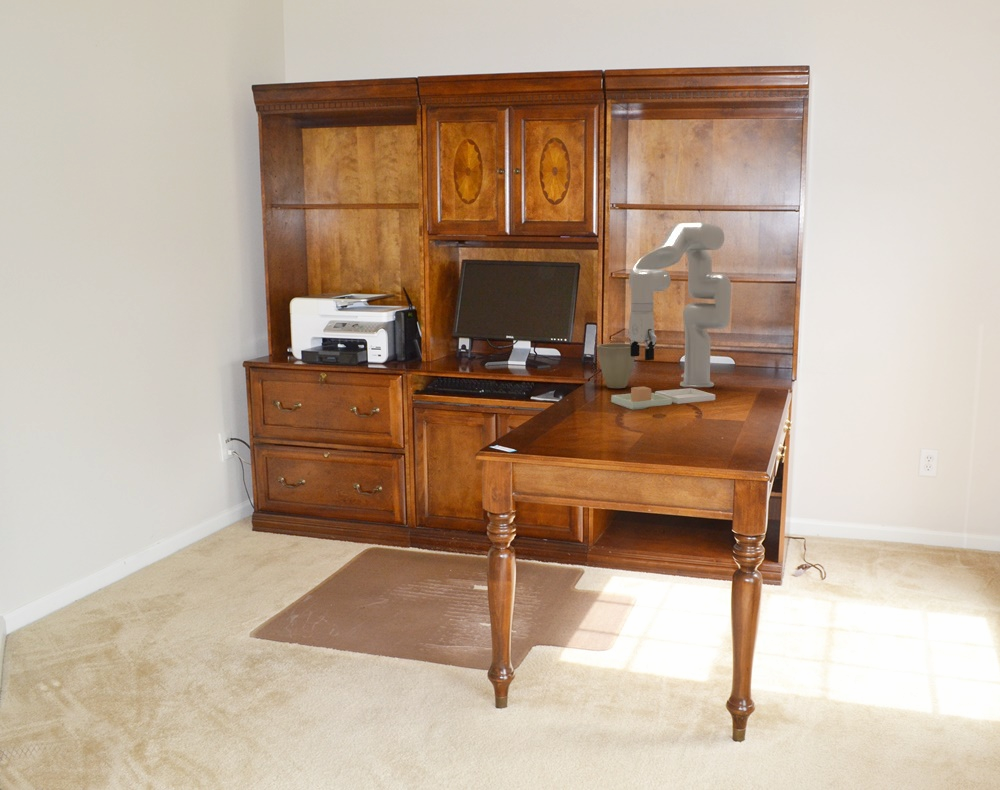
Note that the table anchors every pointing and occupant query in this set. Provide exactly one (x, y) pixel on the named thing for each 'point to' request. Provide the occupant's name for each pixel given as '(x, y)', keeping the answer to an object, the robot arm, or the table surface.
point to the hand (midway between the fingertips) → (642, 358)
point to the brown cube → (640, 394)
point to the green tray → (626, 401)
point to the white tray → (686, 395)
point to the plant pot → (616, 364)
